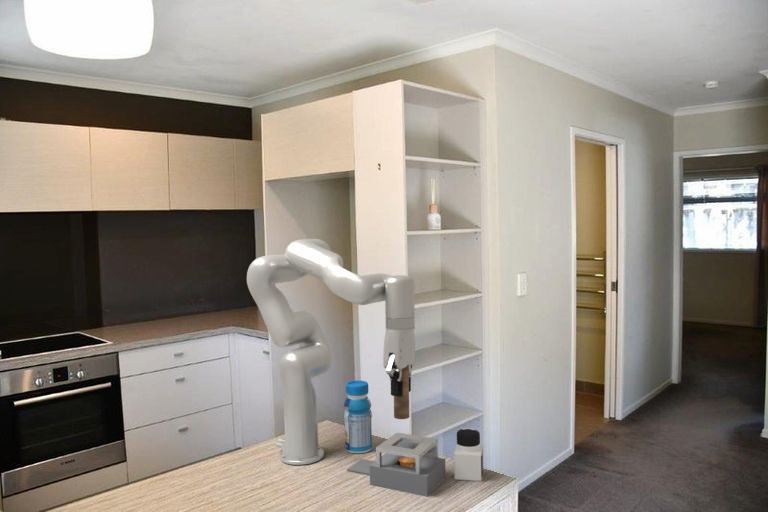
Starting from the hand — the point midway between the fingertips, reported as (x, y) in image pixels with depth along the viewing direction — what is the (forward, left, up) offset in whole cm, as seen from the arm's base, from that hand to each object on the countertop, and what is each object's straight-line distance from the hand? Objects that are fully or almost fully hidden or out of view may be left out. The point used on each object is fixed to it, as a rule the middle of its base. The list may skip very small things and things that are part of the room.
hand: (400, 392), depth 152 cm
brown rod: (0, 0, -6) cm, 6 cm away
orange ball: (+2, 0, -22) cm, 23 cm away
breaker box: (+2, 0, -23) cm, 23 cm away
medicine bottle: (+15, +10, -23) cm, 29 cm away
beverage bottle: (-21, +14, -23) cm, 34 cm away
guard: (+2, 0, -18) cm, 18 cm away
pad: (-12, +3, -23) cm, 26 cm away
